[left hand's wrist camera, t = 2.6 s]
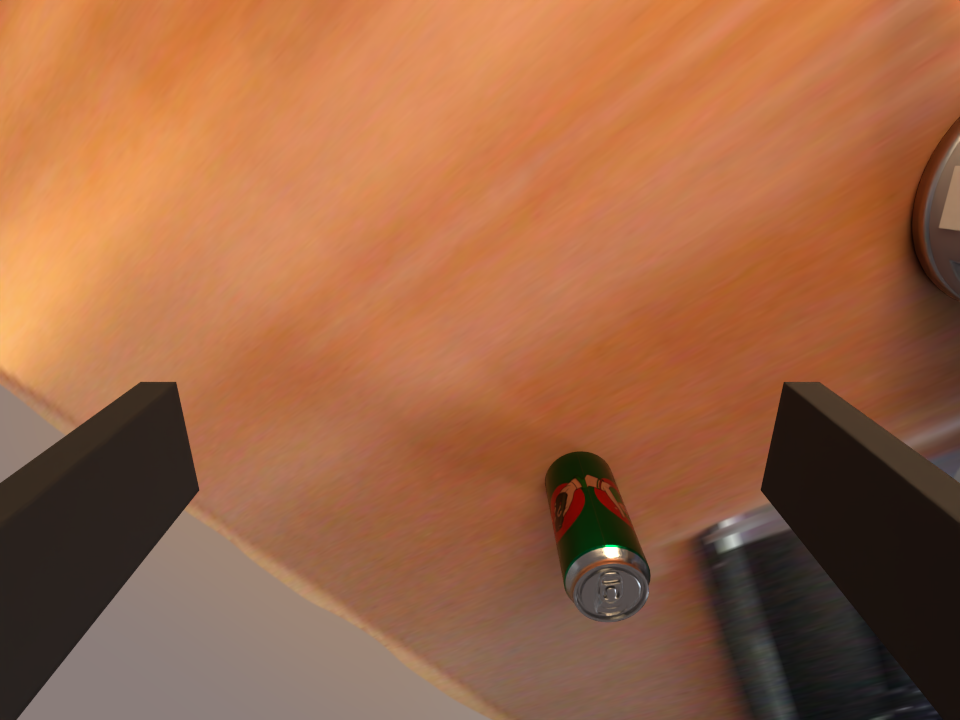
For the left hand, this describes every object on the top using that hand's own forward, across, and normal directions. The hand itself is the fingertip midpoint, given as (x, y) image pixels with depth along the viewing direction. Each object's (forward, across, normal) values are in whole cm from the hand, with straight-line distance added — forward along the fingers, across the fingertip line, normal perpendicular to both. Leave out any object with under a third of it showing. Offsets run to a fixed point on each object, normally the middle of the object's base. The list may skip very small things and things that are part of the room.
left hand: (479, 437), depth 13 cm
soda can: (+26, +7, -18) cm, 33 cm away
